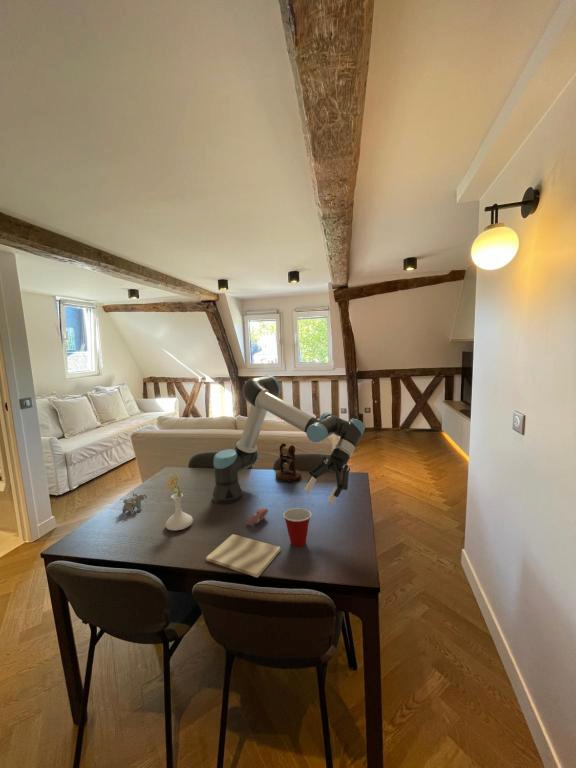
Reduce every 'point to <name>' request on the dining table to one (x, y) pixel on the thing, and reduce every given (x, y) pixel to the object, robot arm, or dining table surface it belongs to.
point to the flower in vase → (177, 507)
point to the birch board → (244, 555)
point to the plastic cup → (297, 525)
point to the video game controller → (257, 516)
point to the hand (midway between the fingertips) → (317, 497)
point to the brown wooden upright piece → (287, 464)
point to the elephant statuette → (133, 503)
